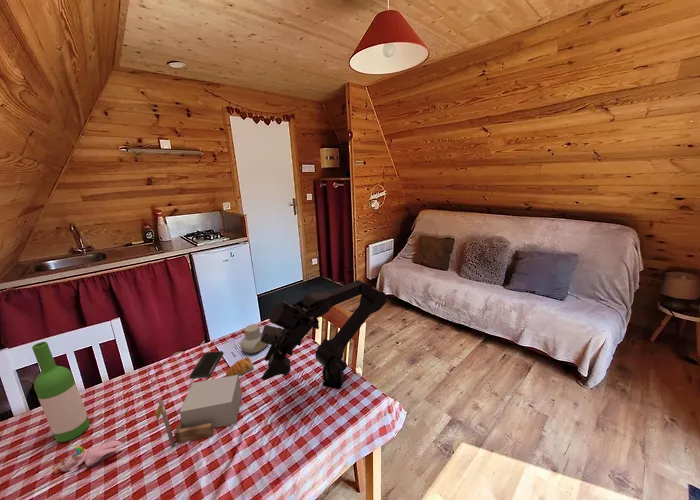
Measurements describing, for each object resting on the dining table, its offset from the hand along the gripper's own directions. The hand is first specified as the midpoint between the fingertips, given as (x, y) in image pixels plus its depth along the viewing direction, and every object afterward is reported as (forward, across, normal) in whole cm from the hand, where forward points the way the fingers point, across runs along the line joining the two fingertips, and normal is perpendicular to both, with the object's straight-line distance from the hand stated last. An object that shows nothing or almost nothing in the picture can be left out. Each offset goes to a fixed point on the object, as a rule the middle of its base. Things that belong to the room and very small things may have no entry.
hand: (264, 369), depth 92 cm
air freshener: (+15, -32, +3) cm, 36 cm away
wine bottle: (+49, -3, -32) cm, 59 cm away
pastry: (+17, -19, +1) cm, 26 cm away
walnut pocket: (+23, +2, -6) cm, 24 cm away
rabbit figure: (+41, +9, -23) cm, 48 cm away
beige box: (+20, 0, -3) cm, 21 cm away
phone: (+27, -26, -9) cm, 39 cm away
